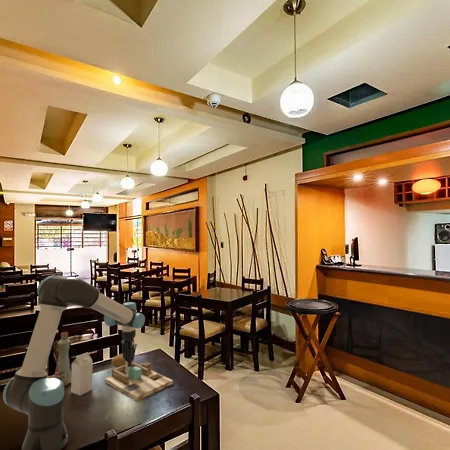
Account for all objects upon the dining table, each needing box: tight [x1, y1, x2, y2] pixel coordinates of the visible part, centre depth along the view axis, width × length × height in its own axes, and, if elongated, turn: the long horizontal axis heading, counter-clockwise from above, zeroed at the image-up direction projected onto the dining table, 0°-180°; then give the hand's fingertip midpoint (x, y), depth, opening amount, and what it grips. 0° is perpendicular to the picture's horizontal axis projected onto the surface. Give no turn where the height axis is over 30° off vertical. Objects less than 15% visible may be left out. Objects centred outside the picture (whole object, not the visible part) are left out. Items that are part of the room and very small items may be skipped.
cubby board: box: [104, 361, 174, 402], centre depth 167 cm, size 23×30×6 cm
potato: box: [110, 352, 135, 369], centre depth 187 cm, size 10×14×8 cm
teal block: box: [128, 366, 142, 381], centre depth 168 cm, size 5×5×5 cm
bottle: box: [53, 331, 72, 387], centre depth 166 cm, size 9×9×28 cm
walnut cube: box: [140, 362, 152, 371], centre depth 178 cm, size 4×4×4 cm
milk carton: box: [70, 352, 93, 396], centre depth 158 cm, size 7×7×19 cm
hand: (128, 371), depth 173 cm, fingers closed
